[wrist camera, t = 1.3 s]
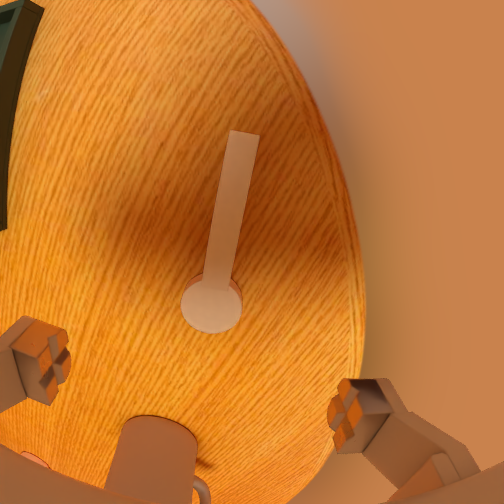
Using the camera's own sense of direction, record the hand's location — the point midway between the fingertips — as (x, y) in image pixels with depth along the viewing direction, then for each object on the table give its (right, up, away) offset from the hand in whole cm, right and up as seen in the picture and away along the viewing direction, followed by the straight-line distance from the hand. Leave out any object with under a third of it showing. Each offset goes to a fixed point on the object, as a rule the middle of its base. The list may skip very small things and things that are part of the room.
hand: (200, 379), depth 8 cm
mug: (-8, -18, +21) cm, 29 cm away
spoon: (0, +5, +13) cm, 14 cm away
